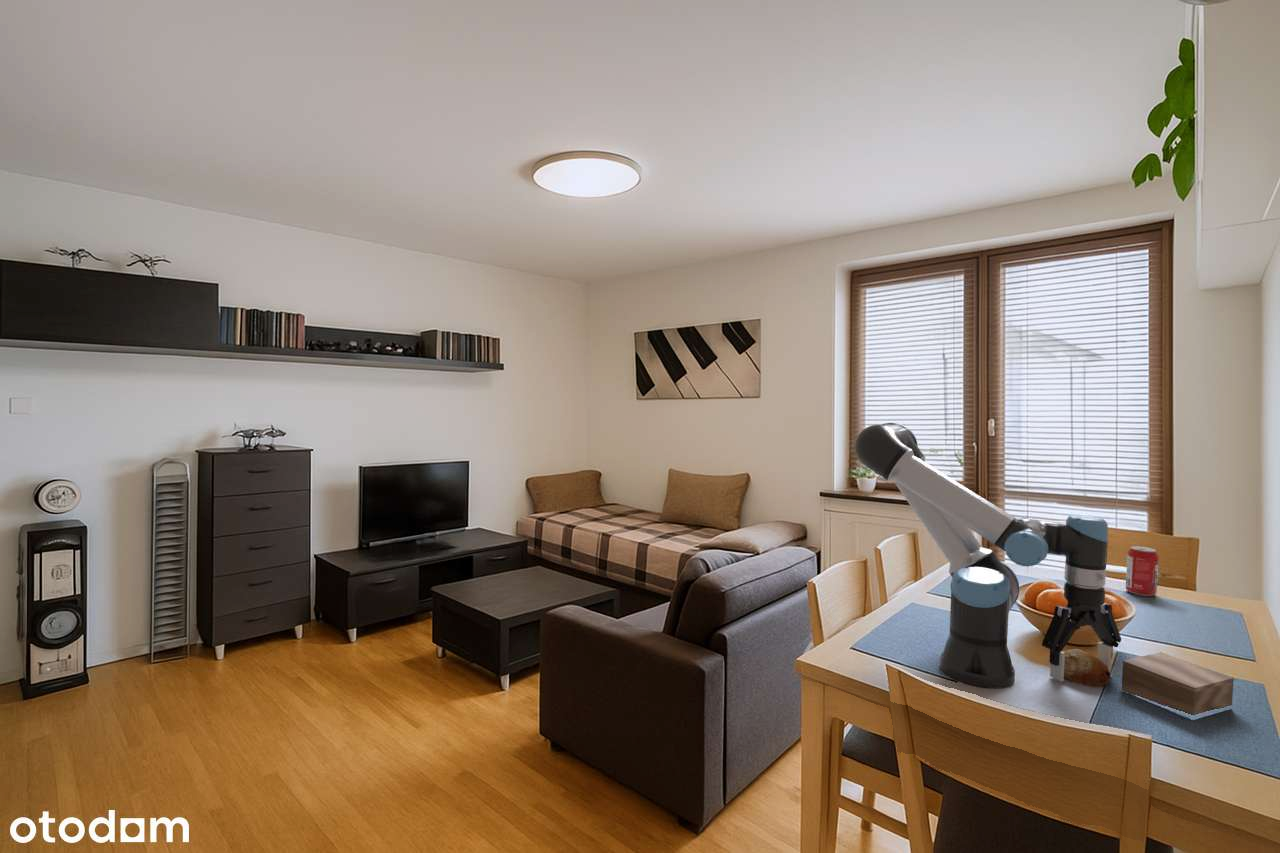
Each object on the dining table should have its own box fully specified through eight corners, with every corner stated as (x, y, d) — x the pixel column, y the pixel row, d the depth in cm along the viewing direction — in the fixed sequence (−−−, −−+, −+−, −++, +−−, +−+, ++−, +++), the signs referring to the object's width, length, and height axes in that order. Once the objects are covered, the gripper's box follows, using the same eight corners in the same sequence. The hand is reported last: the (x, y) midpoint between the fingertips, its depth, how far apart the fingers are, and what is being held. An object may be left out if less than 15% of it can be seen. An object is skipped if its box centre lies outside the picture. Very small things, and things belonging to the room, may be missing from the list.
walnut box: (1192, 722, 120) (1194, 688, 120) (1121, 691, 132) (1123, 660, 132) (1231, 710, 125) (1233, 677, 124) (1159, 682, 137) (1160, 652, 137)
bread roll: (1065, 680, 145) (1049, 647, 146) (1115, 674, 139) (1098, 639, 140) (1061, 696, 137) (1045, 661, 139) (1114, 690, 131) (1096, 653, 133)
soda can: (1119, 590, 201) (1122, 546, 200) (1136, 588, 203) (1138, 544, 202) (1145, 598, 193) (1148, 552, 192) (1162, 596, 196) (1165, 550, 195)
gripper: (1055, 593, 131) (1051, 689, 132) (1143, 585, 137) (1139, 676, 138) (1025, 583, 138) (1022, 673, 139) (1110, 575, 144) (1106, 662, 145)
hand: (1080, 675), depth 139 cm, fingers open, 13 cm apart
